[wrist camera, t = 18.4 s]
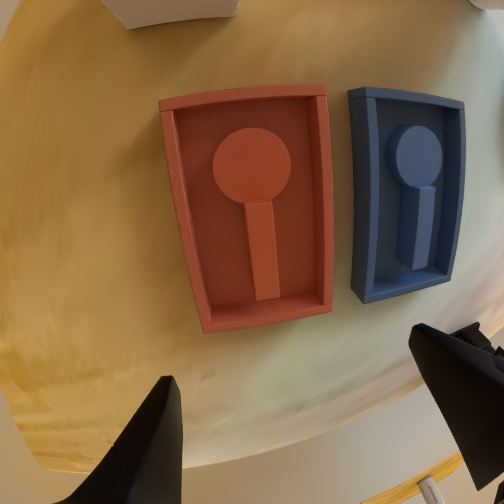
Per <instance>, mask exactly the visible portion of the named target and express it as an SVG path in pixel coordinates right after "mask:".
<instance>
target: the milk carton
mask: <svg viewBox="0 0 504 504" xmlns="http://www.w3.org/2000/svg"><path fill="white" fill-rule="evenodd" d="M100 1H101V2H102V3H103V4H104V5H105V6H106V7H107V8H108V9H109V10H110V12H111V13H112V14H113V15H114V16H115V17H116V18H117V19H118V20H119V21H120V22H121V23H122V25H123V26H124V27H125V28H126V29H135V28H140V27H145V26H150V25H156V24H162V23H168V22H175V21H183V20H192V19H203V18H217V17H233V16H236V14H237V10H238V5H239V1H240V0H100Z"/></svg>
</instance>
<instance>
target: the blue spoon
mask: <svg viewBox="0 0 504 504" xmlns="http://www.w3.org/2000/svg"><path fill="white" fill-rule="evenodd" d="M385 160H386V165H387V168H388V170H389V172H390V174H391V175H392V177H393V178H394V179H395V180H397V181H398V182H400V183H401V208H400V224H399V237H398V248H397V259H398V260H399V261H401V262H402V263H403V264H404V265H406V266H407V267H408V268H409V269H410V270H412V271H413V270H417V269H421V268H425V267H426V266H427V260H428V254H429V247H430V240H431V232H432V223H433V212H434V200H435V187H432V186H430V185H431V184H432V183H433V182H434V181H435V180H436V178H437V176H438V174H439V172H440V169H441V165H442V150H441V146H440V143H439V141H438V139H437V137H436V136H435V134H434V133H433V132H432V131H430V130H429V129H428V128H426V127H423V126H414V125H404V126H400V127H398V128H397V129H396V130H394V131H393V132H392V134H391V135H390V137H389V139H388V141H387V144H386V148H385Z"/></svg>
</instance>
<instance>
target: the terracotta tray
mask: <svg viewBox="0 0 504 504" xmlns="http://www.w3.org/2000/svg"><path fill="white" fill-rule="evenodd" d="M326 95H327V94H326V86H325V85H318V84H304V85H272V86H257V87H245V88H235V89H226V90H217V91H210V92H203V93H197V94H190V95H185V96H179V97H174V98H169V99H164V100H159V110H160V112H161V113H160V118H161V126H162V133H163V140H164V146H165V153H166V159H167V166H168V172H169V178H170V183H171V189H172V195H173V200H174V205H175V211H176V216H177V221H178V226H179V231H180V236H181V241H182V245H183V250H184V255H185V259H186V264H187V268H188V273H189V277H190V281H191V285H192V290H193V294H194V298H195V302H196V306H197V310H198V314H199V318H200V322H201V325H202V329H203V333H212V332H219V331H226V330H233V329H240V328H246V327H252V326H259V325H265V324H270V323H276V322H282V321H287V320H293V319H298V318H303V317H308V316H313V315H318V314H323V313H328V312H332V294H333V259H334V213H333V178H332V157H331V141H330V128H329V116H328V105H327V97H326ZM243 128H261V129H265V130H267V131H270V132H271V133H273V134H275V135H276V136H277V137H279V138H280V139H281V140H282V142H283V143H284V144H285V146H286V147H287V149H288V152H289V154H290V158H291V173H290V177H289V180H288V182H287V184H286V186H285V187H284V189H283V190H282V191H281V192H280V193H279V194H278V195H277V196H276V197H275V198H273V199H271V202H272V206H273V217H274V228H275V240H276V252H277V264H278V277H279V290H280V297H278V298H272V299H266V300H260V301H256V299H255V295H254V291H253V287H252V282H251V275H250V267H249V259H248V251H247V243H246V235H245V228H244V220H243V212H242V204H240V203H237V202H235V201H233V200H231V199H229V198H228V197H227V196H225V195H224V194H223V193H222V192H221V191H220V189H219V188H218V186H217V184H216V182H215V180H214V177H213V172H212V161H213V155H214V152H215V150H216V148H217V146H218V144H219V143H220V142H221V140H222V139H223V138H224V137H226V136H227V135H228V134H230V133H231V132H233V131H236V130H239V129H243Z"/></svg>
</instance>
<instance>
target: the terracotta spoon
mask: <svg viewBox="0 0 504 504" xmlns="http://www.w3.org/2000/svg"><path fill="white" fill-rule="evenodd" d="M212 172H213V177H214V180H215V182H216V184H217V186H218V188H219V189H220V191H221V192H222V193H223V194H224V195H225V196H227V197H228V198H229V199H231V200H233V201H235V202H237V203H240V204H242V212H243V220H244V228H245V235H246V243H247V251H248V259H249V267H250V275H251V282H252V287H253V291H254V295H255V299H256V301H260V300H266V299H272V298H278V297H280V290H279V277H278V264H277V252H276V240H275V228H274V217H273V206H272V202H271V199H273V198H275V197H276V196H277V195H278V194H279V193H280V192H281V191H282V190H283V189H284V187H285V186H286V184H287V182H288V180H289V177H290V173H291V158H290V154H289V152H288V149H287V147H286V146H285V144H284V143H283V142H282V140H281V139H280V138H279V137H277V136H276V135H275V134H273V133H271V132H270V131H267V130H265V129H261V128H243V129H239V130H236V131H233V132H231V133H230V134H228V135H227V136H226V137H224V138H223V139H222V140H221V142H220V143H219V144H218V146H217V148H216V150H215V152H214V155H213V161H212Z"/></svg>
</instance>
